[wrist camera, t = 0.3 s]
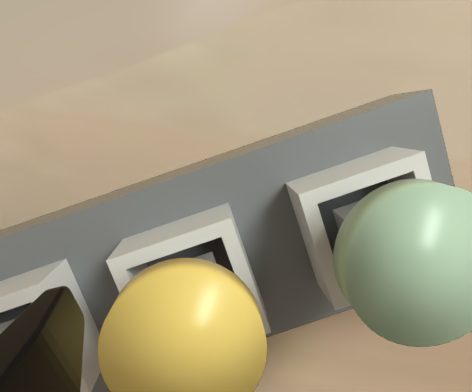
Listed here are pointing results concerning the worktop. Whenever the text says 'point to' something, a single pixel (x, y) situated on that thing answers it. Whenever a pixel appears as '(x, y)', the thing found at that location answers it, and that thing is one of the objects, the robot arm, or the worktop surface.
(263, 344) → the button mustard
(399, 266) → the button sage
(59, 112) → the worktop surface
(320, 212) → the control box
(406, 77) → the worktop surface
